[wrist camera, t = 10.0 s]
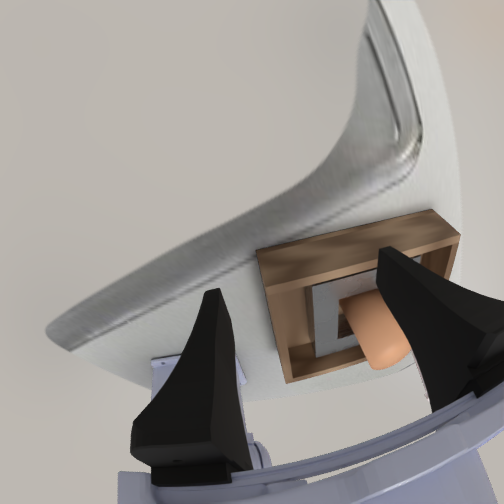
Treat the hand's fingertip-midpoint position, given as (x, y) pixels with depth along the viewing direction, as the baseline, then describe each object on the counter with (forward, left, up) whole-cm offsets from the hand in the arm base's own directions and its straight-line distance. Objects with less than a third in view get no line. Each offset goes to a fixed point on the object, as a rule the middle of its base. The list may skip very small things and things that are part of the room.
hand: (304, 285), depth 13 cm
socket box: (+7, -12, -10) cm, 17 cm away
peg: (+7, -12, -10) cm, 17 cm away
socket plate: (+7, -12, -10) cm, 17 cm away
